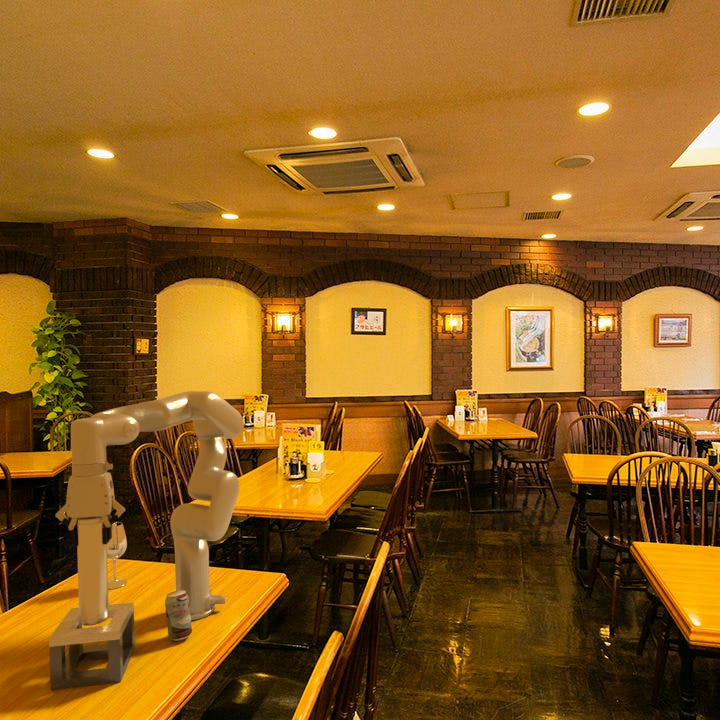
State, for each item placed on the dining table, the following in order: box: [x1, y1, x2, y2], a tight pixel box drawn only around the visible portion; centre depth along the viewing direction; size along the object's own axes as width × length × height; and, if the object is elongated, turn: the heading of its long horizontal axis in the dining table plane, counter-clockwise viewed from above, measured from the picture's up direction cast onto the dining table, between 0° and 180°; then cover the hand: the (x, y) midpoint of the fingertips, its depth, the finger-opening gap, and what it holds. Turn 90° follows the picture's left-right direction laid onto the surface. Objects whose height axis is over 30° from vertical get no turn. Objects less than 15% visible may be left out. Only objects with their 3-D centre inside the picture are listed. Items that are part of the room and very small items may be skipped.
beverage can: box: [164, 590, 193, 642], centre depth 149 cm, size 6×7×12 cm
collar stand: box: [48, 601, 136, 691], centre depth 135 cm, size 15×15×12 cm
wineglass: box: [107, 521, 128, 590], centre depth 185 cm, size 8×8×20 cm
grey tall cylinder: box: [76, 517, 109, 627], centre depth 135 cm, size 6×6×25 cm
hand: (91, 542), depth 135 cm, fingers closed on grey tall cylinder, 6 cm apart
